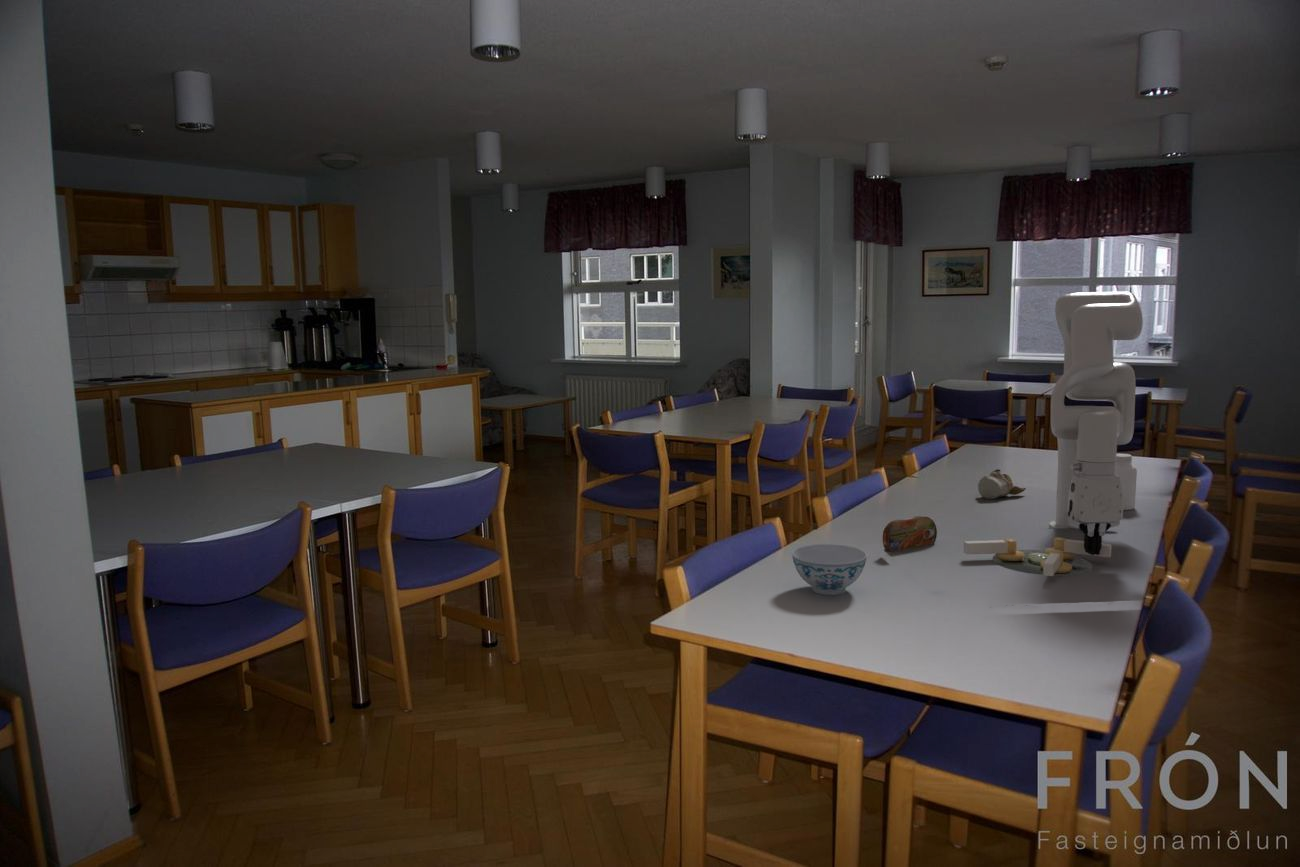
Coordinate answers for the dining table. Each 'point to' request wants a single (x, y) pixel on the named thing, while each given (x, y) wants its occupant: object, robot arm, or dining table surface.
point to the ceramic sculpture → (997, 485)
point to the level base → (1034, 563)
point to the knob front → (1055, 564)
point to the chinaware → (829, 566)
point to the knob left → (995, 549)
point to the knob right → (1076, 548)
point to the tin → (909, 533)
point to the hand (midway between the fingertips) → (1092, 553)
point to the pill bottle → (1127, 479)
